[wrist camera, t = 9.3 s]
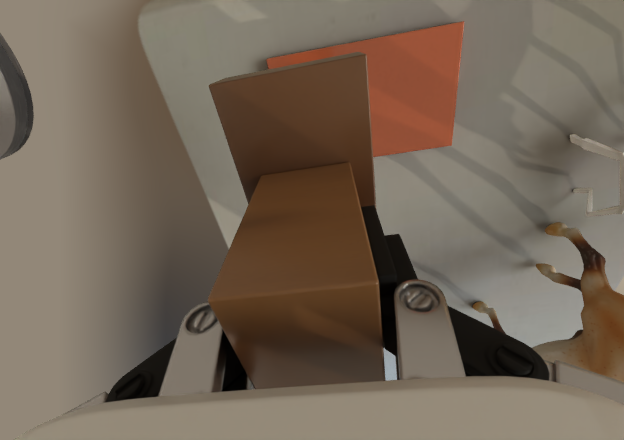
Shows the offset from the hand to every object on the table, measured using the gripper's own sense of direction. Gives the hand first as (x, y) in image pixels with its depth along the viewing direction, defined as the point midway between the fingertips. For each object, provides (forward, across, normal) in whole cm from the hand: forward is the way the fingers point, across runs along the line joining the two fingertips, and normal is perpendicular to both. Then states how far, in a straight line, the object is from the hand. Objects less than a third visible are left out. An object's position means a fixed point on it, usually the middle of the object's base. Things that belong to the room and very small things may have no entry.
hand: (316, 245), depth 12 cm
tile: (+19, -4, -1) cm, 20 cm away
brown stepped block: (+5, 0, 0) cm, 5 cm away
